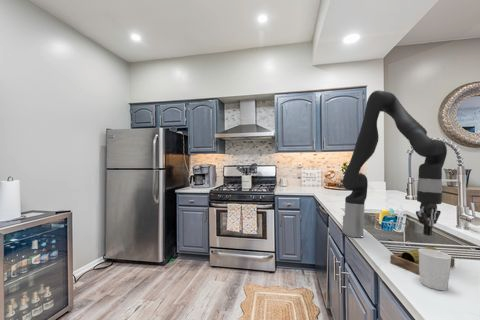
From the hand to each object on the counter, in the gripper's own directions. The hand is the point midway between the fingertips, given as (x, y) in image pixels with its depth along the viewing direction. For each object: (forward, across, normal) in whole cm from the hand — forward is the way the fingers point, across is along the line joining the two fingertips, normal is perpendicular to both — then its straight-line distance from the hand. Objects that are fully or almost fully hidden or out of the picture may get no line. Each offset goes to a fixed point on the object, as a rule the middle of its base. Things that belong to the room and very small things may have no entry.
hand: (427, 234), depth 88 cm
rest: (+11, +2, 0) cm, 11 cm away
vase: (+8, -3, 0) cm, 8 cm away
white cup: (+11, +17, +10) cm, 23 cm away
